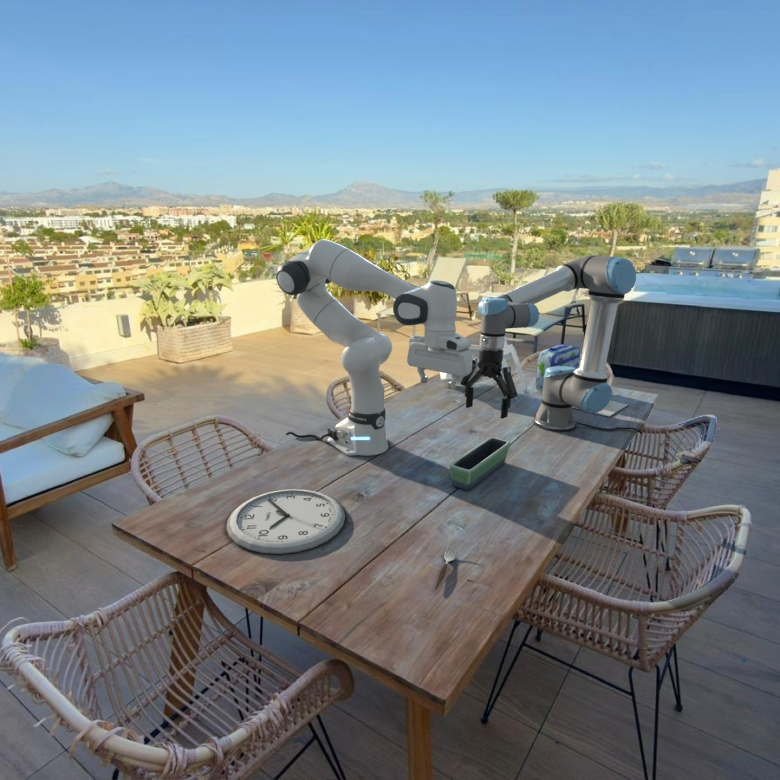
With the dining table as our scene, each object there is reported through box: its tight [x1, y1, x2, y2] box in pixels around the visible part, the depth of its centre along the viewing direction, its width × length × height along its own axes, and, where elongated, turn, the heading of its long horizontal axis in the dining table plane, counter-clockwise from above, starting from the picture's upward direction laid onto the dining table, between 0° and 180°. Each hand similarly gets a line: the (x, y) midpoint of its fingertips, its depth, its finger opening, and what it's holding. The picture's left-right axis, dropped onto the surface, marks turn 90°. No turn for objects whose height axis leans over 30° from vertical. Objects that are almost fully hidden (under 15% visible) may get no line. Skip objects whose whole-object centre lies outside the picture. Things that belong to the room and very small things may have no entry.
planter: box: [449, 437, 511, 491], centre depth 162 cm, size 28×7×7 cm, turn 143°
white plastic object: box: [439, 336, 531, 400], centre depth 245 cm, size 37×45×31 cm
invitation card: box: [573, 400, 629, 418], centre depth 226 cm, size 21×1×15 cm
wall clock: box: [226, 488, 346, 555], centre depth 135 cm, size 30×2×30 cm
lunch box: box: [535, 344, 581, 392], centre depth 247 cm, size 26×11×21 cm, turn 134°
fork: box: [434, 542, 459, 590], centre depth 116 cm, size 3×16×2 cm, turn 160°
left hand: (437, 385), depth 153 cm, fingers open, 8 cm apart
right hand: (486, 412), depth 170 cm, fingers open, 13 cm apart
